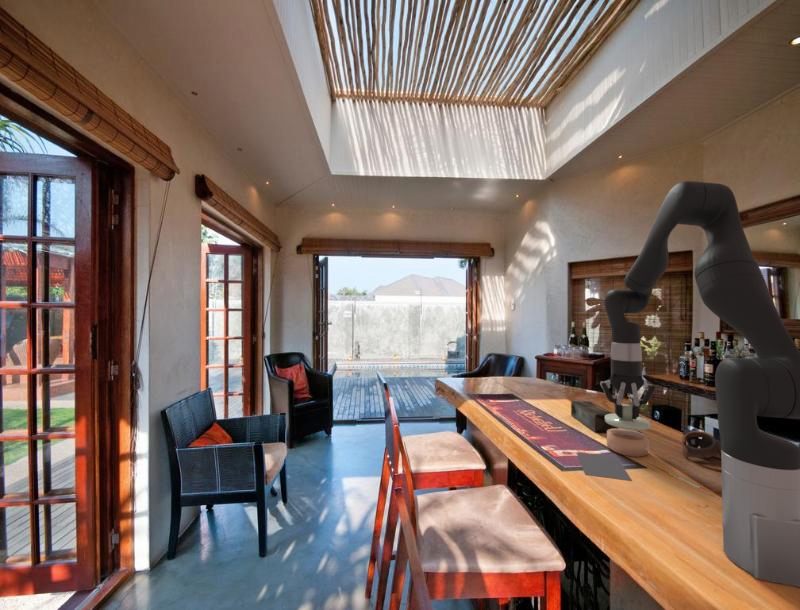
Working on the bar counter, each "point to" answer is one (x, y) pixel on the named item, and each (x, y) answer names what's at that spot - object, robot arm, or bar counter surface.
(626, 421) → the lid
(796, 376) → the robot arm
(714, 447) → the pottery mug
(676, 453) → the bar counter surface
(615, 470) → the mat
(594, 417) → the beverage carton
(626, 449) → the bowl
